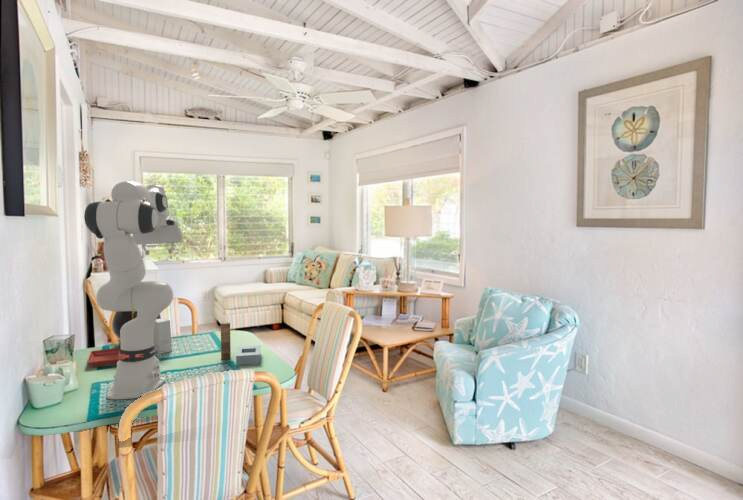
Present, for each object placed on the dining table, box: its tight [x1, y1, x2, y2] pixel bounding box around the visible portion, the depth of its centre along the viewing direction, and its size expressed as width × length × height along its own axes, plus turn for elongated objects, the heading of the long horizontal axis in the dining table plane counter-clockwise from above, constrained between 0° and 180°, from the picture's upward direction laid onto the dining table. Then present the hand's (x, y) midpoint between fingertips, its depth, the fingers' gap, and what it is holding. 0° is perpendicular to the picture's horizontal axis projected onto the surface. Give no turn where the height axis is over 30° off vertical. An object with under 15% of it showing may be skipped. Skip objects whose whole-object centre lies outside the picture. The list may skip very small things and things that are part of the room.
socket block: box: [235, 345, 261, 366], centre depth 202 cm, size 14×10×4 cm
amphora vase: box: [111, 311, 161, 347], centre depth 222 cm, size 22×22×28 cm
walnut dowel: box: [220, 321, 232, 361], centre depth 202 cm, size 4×4×16 cm
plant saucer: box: [87, 347, 121, 368], centre depth 199 cm, size 18×18×3 cm
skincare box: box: [153, 317, 173, 354], centre depth 213 cm, size 8×6×15 cm
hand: (158, 254), depth 200 cm, fingers open, 8 cm apart
